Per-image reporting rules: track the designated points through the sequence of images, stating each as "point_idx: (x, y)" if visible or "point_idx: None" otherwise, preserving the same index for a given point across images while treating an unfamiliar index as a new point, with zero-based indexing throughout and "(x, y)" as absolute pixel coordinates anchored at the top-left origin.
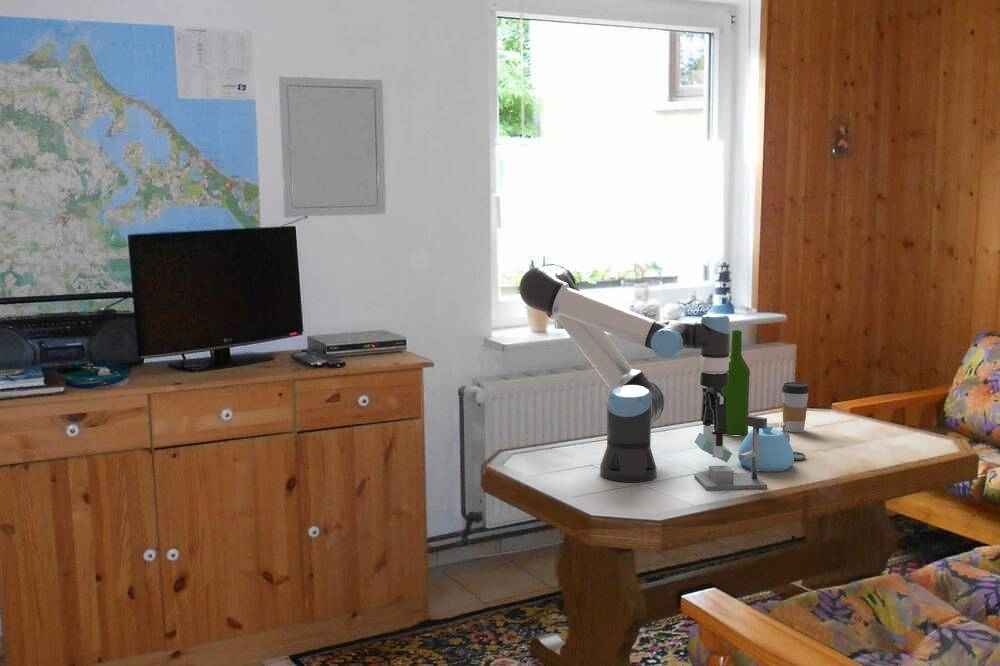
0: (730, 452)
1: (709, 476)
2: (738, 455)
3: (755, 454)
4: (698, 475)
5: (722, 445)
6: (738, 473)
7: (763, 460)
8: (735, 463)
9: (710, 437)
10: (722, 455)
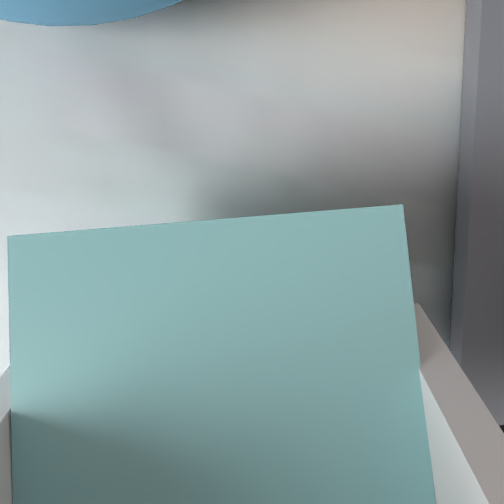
0: (405, 233)
1: None
2: (21, 21)
3: None
4: None
5: (474, 403)
6: (498, 124)
7: None
8: (23, 46)
9: (7, 472)
10: (423, 318)
